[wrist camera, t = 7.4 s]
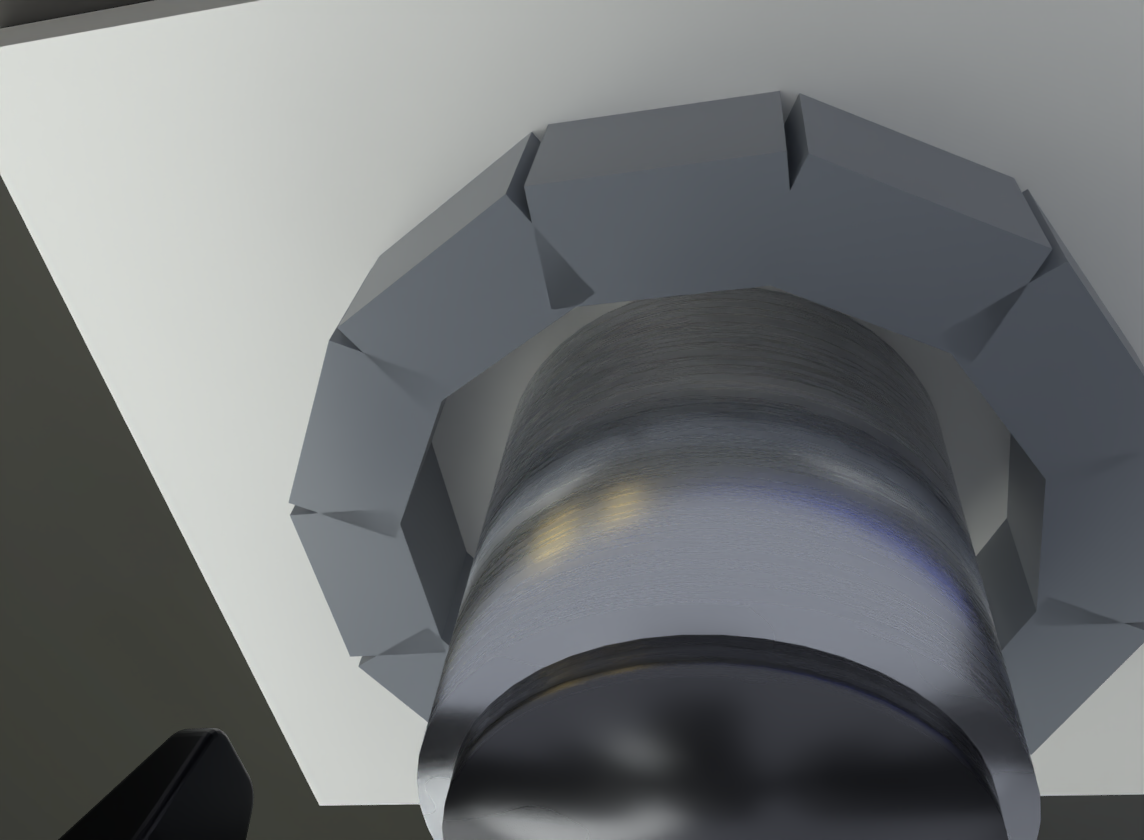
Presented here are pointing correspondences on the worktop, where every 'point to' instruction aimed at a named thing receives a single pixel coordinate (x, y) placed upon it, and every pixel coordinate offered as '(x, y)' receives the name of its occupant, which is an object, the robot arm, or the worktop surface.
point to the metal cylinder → (725, 600)
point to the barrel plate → (589, 292)
